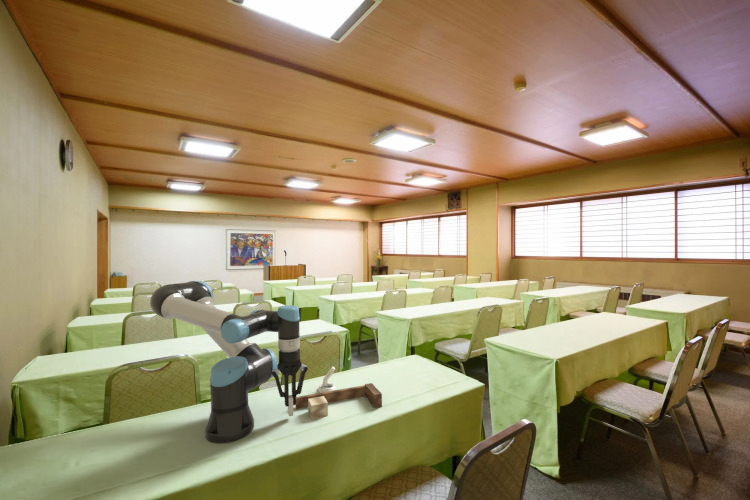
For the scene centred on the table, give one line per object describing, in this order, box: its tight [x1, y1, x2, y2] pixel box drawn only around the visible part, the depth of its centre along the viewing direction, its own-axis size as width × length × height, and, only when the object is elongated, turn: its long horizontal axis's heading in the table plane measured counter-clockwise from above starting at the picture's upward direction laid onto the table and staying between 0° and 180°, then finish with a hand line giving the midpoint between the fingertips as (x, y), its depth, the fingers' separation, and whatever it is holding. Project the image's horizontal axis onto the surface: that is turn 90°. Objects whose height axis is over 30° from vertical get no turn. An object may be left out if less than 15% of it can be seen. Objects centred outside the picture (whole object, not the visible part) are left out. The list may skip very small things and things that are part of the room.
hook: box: [317, 366, 336, 393], centre depth 148 cm, size 8×12×7 cm
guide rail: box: [295, 382, 383, 410], centre depth 132 cm, size 32×12×5 cm, turn 111°
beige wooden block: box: [307, 396, 329, 420], centre depth 127 cm, size 6×6×5 cm
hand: (290, 414), depth 123 cm, fingers closed
